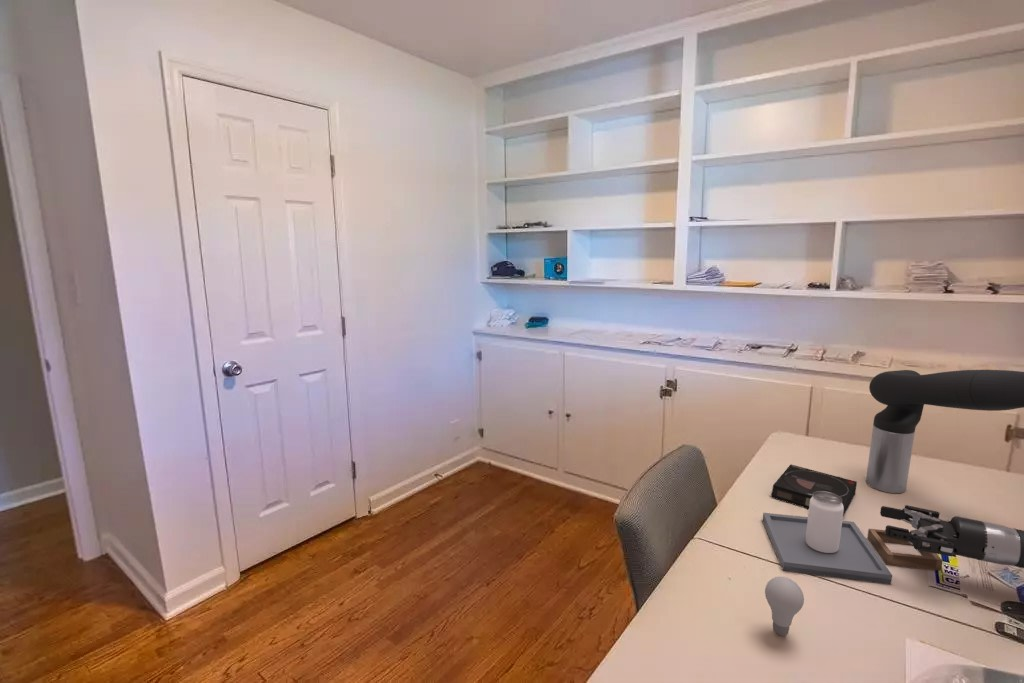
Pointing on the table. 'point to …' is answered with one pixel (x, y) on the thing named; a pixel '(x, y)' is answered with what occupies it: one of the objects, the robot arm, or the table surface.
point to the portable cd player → (811, 486)
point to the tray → (846, 563)
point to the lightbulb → (783, 602)
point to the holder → (900, 559)
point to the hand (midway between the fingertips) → (883, 520)
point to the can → (824, 522)
